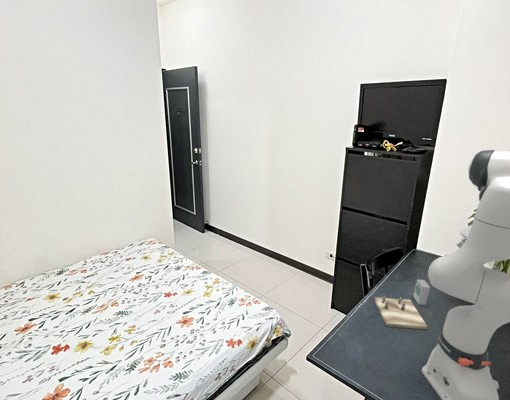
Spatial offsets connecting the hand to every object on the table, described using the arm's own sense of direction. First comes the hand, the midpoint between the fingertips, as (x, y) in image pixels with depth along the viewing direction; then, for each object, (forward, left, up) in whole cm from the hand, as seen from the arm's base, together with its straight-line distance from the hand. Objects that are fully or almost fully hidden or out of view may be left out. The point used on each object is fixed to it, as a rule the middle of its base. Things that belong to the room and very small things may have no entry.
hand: (464, 251), depth 119 cm
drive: (0, +13, -25) cm, 28 cm away
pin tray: (-10, +26, -25) cm, 37 cm away
